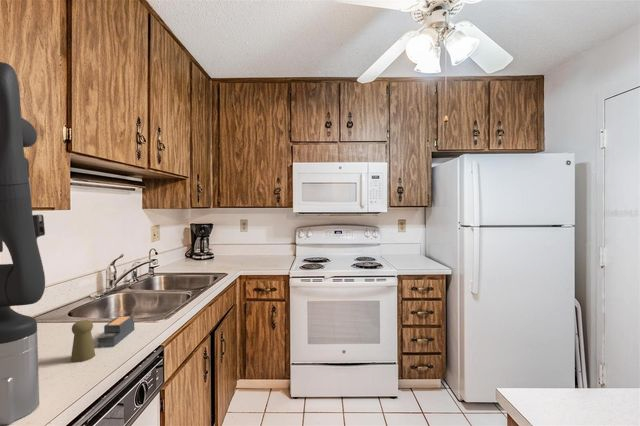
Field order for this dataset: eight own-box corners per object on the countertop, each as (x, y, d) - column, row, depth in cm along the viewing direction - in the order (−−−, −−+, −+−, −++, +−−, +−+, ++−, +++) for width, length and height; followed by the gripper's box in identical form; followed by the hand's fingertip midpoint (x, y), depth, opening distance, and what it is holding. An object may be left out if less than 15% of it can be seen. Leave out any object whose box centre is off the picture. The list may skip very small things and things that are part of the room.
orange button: (118, 330, 111) (118, 324, 111) (107, 331, 111) (107, 325, 111) (130, 322, 119) (130, 316, 119) (119, 322, 119) (119, 316, 119)
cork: (98, 357, 100) (97, 321, 99) (73, 364, 95) (72, 326, 95) (92, 351, 104) (91, 316, 103) (68, 357, 99) (67, 321, 99)
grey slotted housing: (114, 346, 107) (113, 329, 107) (97, 347, 107) (97, 330, 106) (134, 329, 121) (134, 315, 121) (120, 330, 121) (119, 315, 120)
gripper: (-29, 193, 86) (-27, 254, 87) (29, 193, 88) (31, 254, 88) (-3, 193, 94) (-1, 250, 94) (50, 194, 95) (52, 249, 96)
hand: (14, 252), depth 91 cm, fingers open, 8 cm apart
